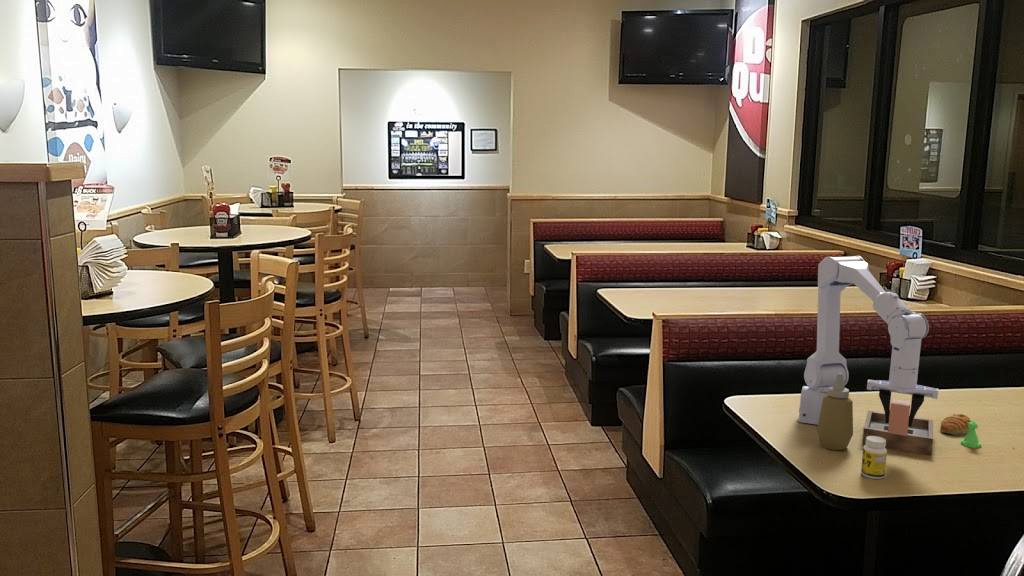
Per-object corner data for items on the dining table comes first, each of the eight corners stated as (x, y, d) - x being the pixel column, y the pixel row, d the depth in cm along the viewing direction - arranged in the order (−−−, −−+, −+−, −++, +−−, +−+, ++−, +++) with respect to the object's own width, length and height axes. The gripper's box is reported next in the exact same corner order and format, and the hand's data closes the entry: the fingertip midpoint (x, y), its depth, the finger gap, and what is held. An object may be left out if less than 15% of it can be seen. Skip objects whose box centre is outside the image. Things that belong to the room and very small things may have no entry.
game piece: (982, 448, 196) (985, 425, 195) (962, 446, 197) (965, 422, 196) (978, 442, 200) (981, 419, 199) (959, 440, 201) (961, 417, 200)
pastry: (961, 439, 202) (962, 424, 202) (932, 432, 207) (934, 417, 207) (975, 430, 209) (976, 416, 208) (947, 424, 214) (948, 410, 213)
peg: (887, 432, 187) (890, 403, 185) (888, 427, 190) (891, 398, 189) (907, 435, 185) (910, 406, 184) (907, 430, 188) (910, 401, 187)
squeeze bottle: (850, 442, 198) (857, 371, 195) (852, 454, 191) (859, 380, 188) (815, 438, 201) (821, 368, 198) (816, 450, 193) (822, 376, 190)
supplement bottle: (856, 471, 181) (860, 435, 180) (877, 470, 182) (880, 434, 180) (867, 479, 176) (871, 442, 175) (888, 479, 177) (892, 442, 175)
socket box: (862, 443, 198) (863, 428, 197) (866, 425, 211) (868, 410, 210) (931, 455, 191) (933, 438, 190) (931, 435, 204) (933, 420, 204)
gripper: (868, 366, 185) (862, 423, 187) (940, 375, 178) (933, 434, 180) (870, 359, 191) (865, 414, 193) (940, 367, 184) (933, 424, 187)
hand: (898, 423), depth 187 cm, fingers closed on peg, 4 cm apart
